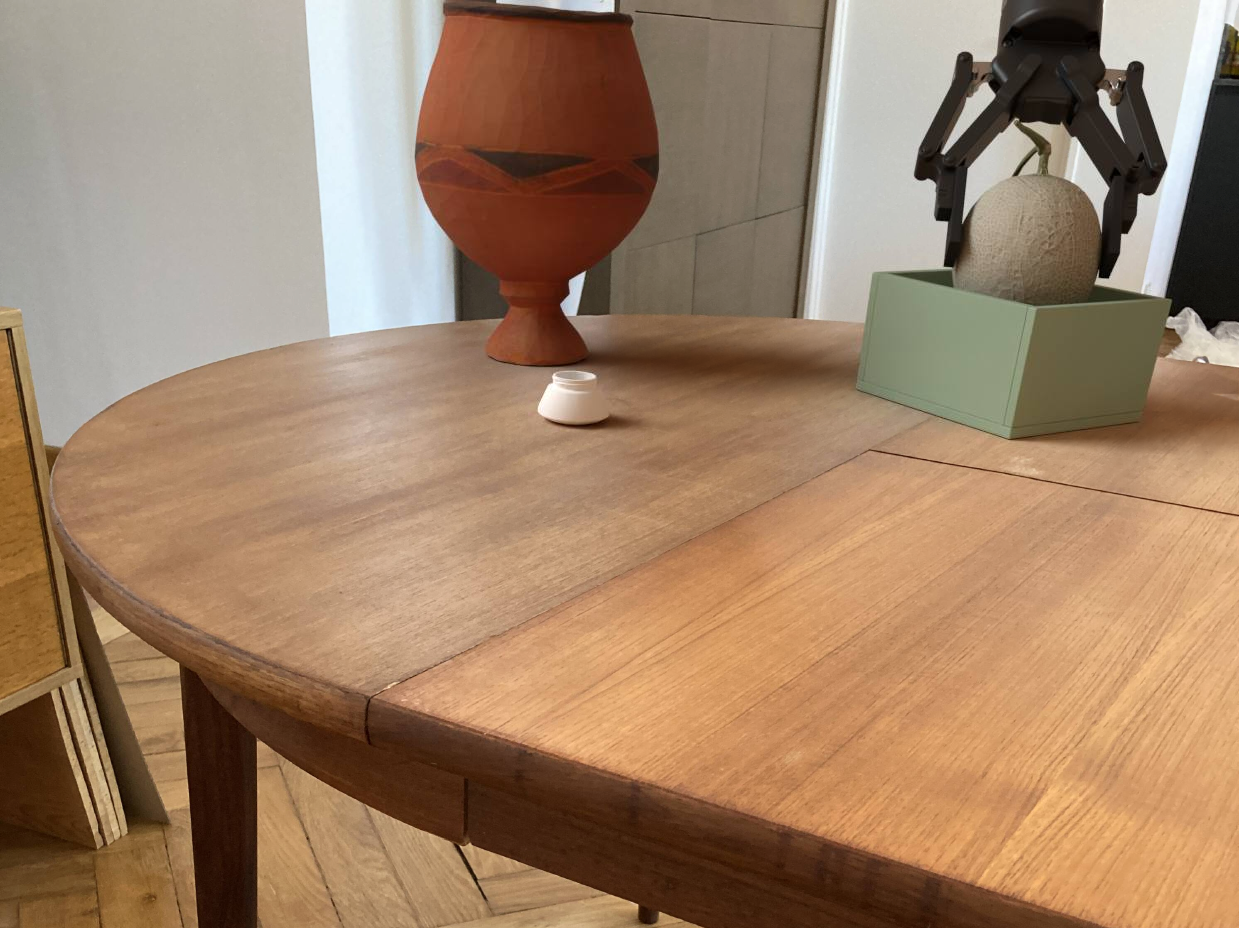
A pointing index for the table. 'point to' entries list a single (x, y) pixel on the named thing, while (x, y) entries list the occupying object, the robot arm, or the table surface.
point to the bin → (1009, 354)
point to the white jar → (574, 399)
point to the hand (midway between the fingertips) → (1029, 260)
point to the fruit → (1031, 238)
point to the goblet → (536, 156)
